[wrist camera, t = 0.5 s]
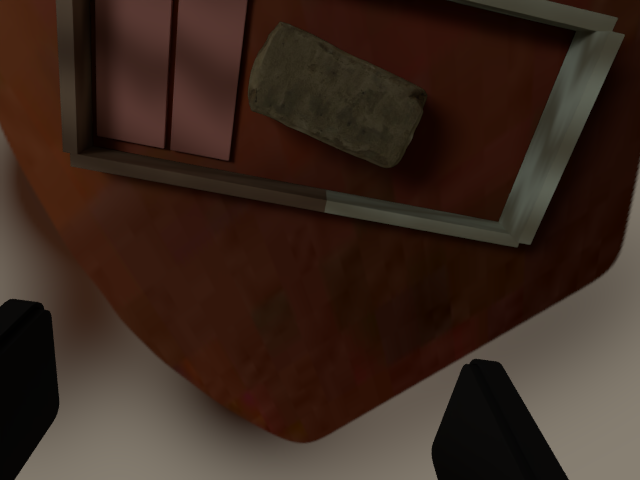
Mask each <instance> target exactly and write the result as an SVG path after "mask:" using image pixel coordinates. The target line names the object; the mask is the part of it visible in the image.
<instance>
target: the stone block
mask: <svg viewBox="0 0 640 480" xmlns="http://www.w3.org/2000/svg"><path fill="white" fill-rule="evenodd" d="M248 99H249V104H250V107H251V111H254V112H257V113H260V114H263V115H265V116H268V117H270V118H273V119H275V120H277V121H279V122H281V123H283V124H284V125H286V126H288V127H290V128H293V129H295V130H298V131H300V132H302V133H305V134H307V135H309V136H311V137H313V138H315V139H318V140H320V141H322V142H324V143H326V144H329V145H331V146H333V147H335V148H337V149H340V150H342V151H344V152H347V153H349V154H351V155H354V156H356V157H359V158H362V159H364V160H367V161H369V162H371V163H373V164H376V165H378V166H380V167H384V168H390V167H394V166H395V165H397V164H398V163H399V161H400V160H401V159H402V157H403V155H404V153H405V150H406V148H407V146H408V145H409V143H410V142H411V140H412V138H413V134H414V132H415V129H416V127H417V126H418V124H419V121H420V119H421V116H422V114H423V106H424V104H425V102H426V99H427V94H426V92H425V91H424V90H423V89H422V88H420V87H418V86H416V85H415V84H413V83H411V82H409V81H407V80H405V79H403V78H400V77H398V76H396V75H394V74H392V73H390V72H388V71H386V70H384V69H382V68H379V67H377V66H375V65H373V64H371V63H369V62H367V61H364V60H362V59H359V58H356V57H354V56H352V55H350V54H348V53H346V52H344V51H342V50H340V49H338V48H337V47H335V46H333V45H331V44H330V43H328V42H326V41H324V40H322V39H321V38H319V37H317V36H315V35H313V34H311V33H308V32H306V31H304V30H301V29H299V28H297V27H294V26H292V25H290V24H287V23H283V22H279V24H278V25H277V26H276V27H275V29H274V30H273V31H272V32H271V33H270V34H269V36H268V38H267V41H266V42H265V44H264V46H263V47H262V49H261V50H260V51H259V53H258V54H257V57H256V59H255V61H254V65H253V68H252V70H251V75H250V80H249V87H248Z"/></svg>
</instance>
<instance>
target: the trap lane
mask: <svg viewBox="0 0 640 480" xmlns="http://www.w3.org/2000/svg"><path fill="white" fill-rule="evenodd" d="M447 1H452V2H456V3H460V4H464V5H469V6H473V7H477V8H481V9H485V10H490V11H494V12H498V13H502V14H507V15H511V16H515V17H519V18H523V19H528V20H532V21H536V22H540V23H545V24H549V25H553V26H557V27H561V28H566V29H570V30H574V31H576V33H575V35H574V38H573V40H572V43H571V45H570V48H569V50H568V52H567V55H566V57H565V60H564V62H563V65H562V67H561V70H560V72H559V75H558V77H557V80H556V82H555V84H554V87H553V89H552V92H551V94H550V97H549V99H548V102H547V104H546V107H545V109H544V112H543V114H542V116H541V119H540V121H539V124H538V126H537V129H536V131H535V134H534V136H533V139H532V141H531V143H530V146H529V148H528V151H527V153H526V156H525V158H524V161H523V163H522V166H521V168H520V171H519V173H518V175H517V178H516V180H515V183H514V185H513V188H512V190H511V193H510V195H509V198H508V200H507V203H506V205H505V207H504V210H503V212H502V215H501V217H500V220H499V222H495V221H490V220H485V219H479V218H474V217H469V216H463V215H458V214H453V213H447V212H442V211H437V210H431V209H426V208H421V207H415V206H410V205H405V204H399V203H394V202H389V201H383V200H378V199H373V198H367V197H362V196H357V195H351V194H346V193H341V192H335V191H330V190H325V189H319V188H314V187H309V186H303V185H298V184H293V183H287V182H282V181H277V180H271V179H266V178H261V177H255V176H250V175H245V174H239V173H234V172H229V171H223V170H218V169H213V168H207V167H202V166H196V165H191V164H186V163H180V162H175V161H170V160H164V159H159V158H154V157H148V156H143V155H138V154H132V153H127V152H122V151H116V150H111V149H106V148H100V147H95V146H93V129H92V74H91V18H90V0H56V12H57V33H58V55H59V76H60V97H61V118H62V139H63V152H67V153H70V160H71V166H72V167H78V168H83V169H89V170H94V171H100V172H105V173H111V174H116V175H122V176H127V177H133V178H138V179H144V180H149V181H155V182H160V183H166V184H171V185H177V186H182V187H188V188H193V189H199V190H204V191H210V192H215V193H221V194H226V195H232V196H237V197H243V198H248V199H254V200H259V201H265V202H270V203H276V204H281V205H287V206H292V207H298V208H303V209H309V210H314V211H320V212H325V213H330V214H336V215H341V216H347V217H352V218H358V219H363V220H369V221H374V222H380V223H385V224H391V225H396V226H402V227H407V228H413V229H418V230H424V231H429V232H435V233H440V234H446V235H451V236H457V237H462V238H468V239H473V240H479V241H484V242H490V243H495V244H501V245H506V246H512V247H518V245H519V243H523V244H529V245H531V242H532V240H533V238H534V236H535V233H536V231H537V229H538V227H539V225H540V222H541V220H542V218H543V216H544V213H545V211H546V209H547V207H548V205H549V202H550V200H551V198H552V196H553V193H554V191H555V189H556V187H557V185H558V182H559V180H560V178H561V176H562V174H563V171H564V169H565V167H566V165H567V162H568V160H569V158H570V156H571V154H572V151H573V149H574V147H575V145H576V142H577V140H578V138H579V136H580V134H581V131H582V129H583V127H584V125H585V122H586V120H587V118H588V116H589V114H590V111H591V109H592V107H593V105H594V102H595V100H596V98H597V96H598V94H599V91H600V89H601V87H602V85H603V82H604V80H605V78H606V76H607V74H608V71H609V69H610V67H611V65H612V63H613V60H614V58H615V56H616V54H617V51H618V49H619V47H620V45H621V43H622V40H623V38H624V36H625V35H624V34H620V33H615V32H612V30H613V28H614V25H615V23H616V21H617V19H618V18H616V17H612V16H608V15H604V14H600V13H596V12H592V11H587V10H583V9H579V8H575V7H571V6H567V5H563V4H558V3H554V2H550V1H546V0H447ZM247 5H248V0H179V8H178V25H177V42H176V60H175V77H174V95H173V112H172V129H171V147H170V150H175V151H180V152H185V153H190V154H196V155H201V156H206V157H211V158H217V159H222V160H227V161H229V159H230V151H231V142H232V134H233V125H234V116H235V108H236V99H237V91H238V82H239V73H240V65H241V56H242V48H243V39H244V30H245V22H246V13H247ZM172 10H173V0H95V27H96V100H97V136H101V137H106V138H111V139H117V140H122V141H127V142H132V143H138V144H143V145H148V146H153V147H159V148H165V144H166V125H167V106H168V87H169V68H170V49H171V30H172Z"/></svg>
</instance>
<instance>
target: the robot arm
mask: <svg viewBox="0 0 640 480" xmlns="http://www.w3.org/2000/svg"><path fill="white" fill-rule="evenodd" d="M58 409H59V393H58V383H57V371H56V361H55V350H54V339H53V328H52V317H51V313H50V311H48V310H44V306H43V305H42V303H39V302H32V301H25V300H17V299H10V300H8V301H6V302H5V303H4V304H3V305H1V306H0V480H15V478H16V476H17V475H18V474H19V472H20V471H21V469H22V468H23V466H24V465H25V463H26V462H27V460H28V459H29V457H30V456H31V454H32V452H33V451H34V450H35V448H36V447H37V445H38V444H39V442H40V441H41V439H42V437H43V436H44V435H45V433H46V432H47V430H48V429H49V427H50V426H51V424H52V423H53V421H54V419H55V418H56V415H57V412H58ZM432 460H433V464H434V468H435V471H436V475H437V478H438V480H569V479H568V478H567V476H566V474H565V472H564V471H563V469H562V467H561V466H560V464H559V462H558V461H557V459H556V457H555V455H554V454H553V452H552V450H551V448H550V447H549V445H548V443H547V442H546V440H545V438H544V437H543V435H542V433H541V431H540V430H539V428H538V426H537V424H536V423H535V421H534V419H533V418H532V416H531V414H530V412H529V411H528V409H527V407H526V406H525V404H524V402H523V400H522V399H521V397H520V395H519V394H518V392H517V390H516V389H515V387H514V385H513V384H512V382H511V380H510V378H509V376H508V375H507V373H506V371H505V370H504V368H503V366H502V365H501V364H500V363H499V362H496V361H488V360H481V359H474V360H472V361H471V362H470V364H465V365H464V366H463V368H462V370H461V372H460V375H459V378H458V380H457V383H456V385H455V388H454V390H453V393H452V395H451V398H450V401H449V403H448V406H447V408H446V411H445V413H444V416H443V419H442V422H441V424H440V426H439V429H438V431H437V434H436V437H435V439H434V442H433V445H432Z"/></svg>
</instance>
